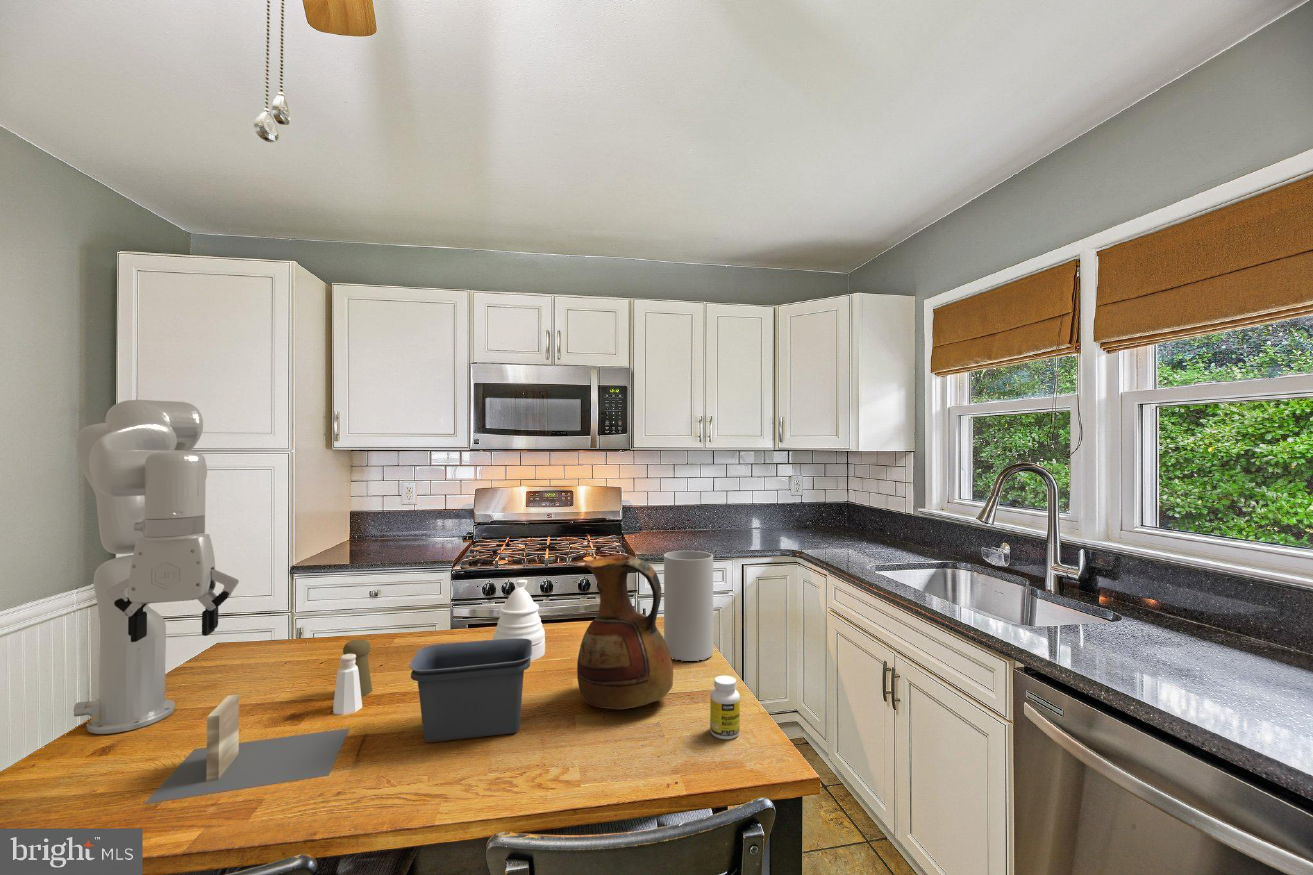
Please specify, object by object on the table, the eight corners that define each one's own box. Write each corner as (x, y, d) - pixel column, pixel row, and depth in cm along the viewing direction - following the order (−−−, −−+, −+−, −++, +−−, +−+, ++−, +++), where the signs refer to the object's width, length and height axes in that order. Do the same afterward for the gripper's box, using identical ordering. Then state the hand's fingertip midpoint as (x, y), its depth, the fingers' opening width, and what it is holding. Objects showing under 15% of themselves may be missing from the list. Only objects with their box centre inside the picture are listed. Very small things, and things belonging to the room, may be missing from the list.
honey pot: (505, 643, 153) (505, 576, 153) (551, 646, 151) (551, 577, 151) (484, 661, 140) (484, 588, 141) (534, 664, 138) (535, 589, 139)
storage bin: (404, 753, 98) (404, 670, 99) (422, 712, 113) (422, 640, 114) (531, 740, 103) (531, 660, 103) (532, 702, 118) (532, 632, 118)
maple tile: (206, 781, 89) (207, 716, 89) (227, 754, 97) (227, 695, 97) (218, 779, 90) (219, 715, 90) (238, 753, 97) (239, 694, 98)
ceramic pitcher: (593, 677, 131) (593, 545, 131) (680, 684, 127) (680, 549, 127) (562, 716, 112) (562, 562, 112) (663, 727, 107) (663, 567, 108)
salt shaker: (341, 719, 110) (342, 662, 111) (326, 713, 113) (326, 657, 113) (368, 709, 115) (368, 653, 115) (353, 702, 118) (353, 648, 118)
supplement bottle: (721, 743, 102) (720, 687, 102) (704, 729, 106) (704, 676, 107) (745, 736, 104) (745, 681, 104) (728, 723, 109) (728, 671, 109)
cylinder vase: (688, 641, 154) (688, 548, 155) (723, 654, 145) (723, 555, 146) (653, 653, 146) (653, 554, 146) (689, 667, 137) (688, 562, 137)
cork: (358, 699, 119) (359, 646, 119) (333, 697, 120) (334, 644, 121) (378, 687, 125) (378, 637, 125) (354, 685, 126) (354, 635, 126)
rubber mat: (143, 807, 84) (143, 804, 84) (194, 751, 99) (194, 748, 99) (328, 778, 91) (328, 775, 91) (349, 730, 106) (349, 728, 106)
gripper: (93, 534, 86) (91, 650, 85) (229, 528, 91) (228, 637, 91) (122, 527, 93) (120, 634, 93) (247, 522, 98) (246, 624, 98)
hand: (174, 636), depth 92 cm, fingers open, 8 cm apart
